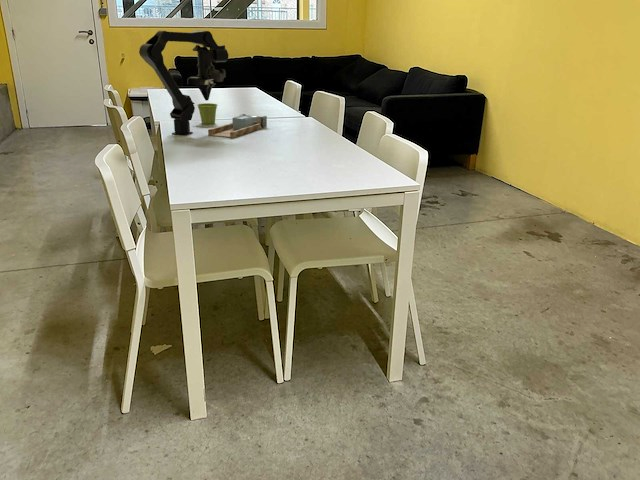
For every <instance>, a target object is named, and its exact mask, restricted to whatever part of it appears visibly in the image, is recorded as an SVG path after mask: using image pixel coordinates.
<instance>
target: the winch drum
mask: <svg viewBox="0 0 640 480" xmlns="http://www.w3.org/2000/svg"><path fill="white" fill-rule="evenodd" d="M240 115H243V116H247V117H250V116H251V115H247V114H245V113H241V114H240ZM252 116H253V117H254V121H256V122H258V124H261V129H265V128H267V127H268V126H267V124H268V123H267V121H268V119H267V118H268V117H267V115H263V116H259V115H257V116H256V115H252Z"/></svg>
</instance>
